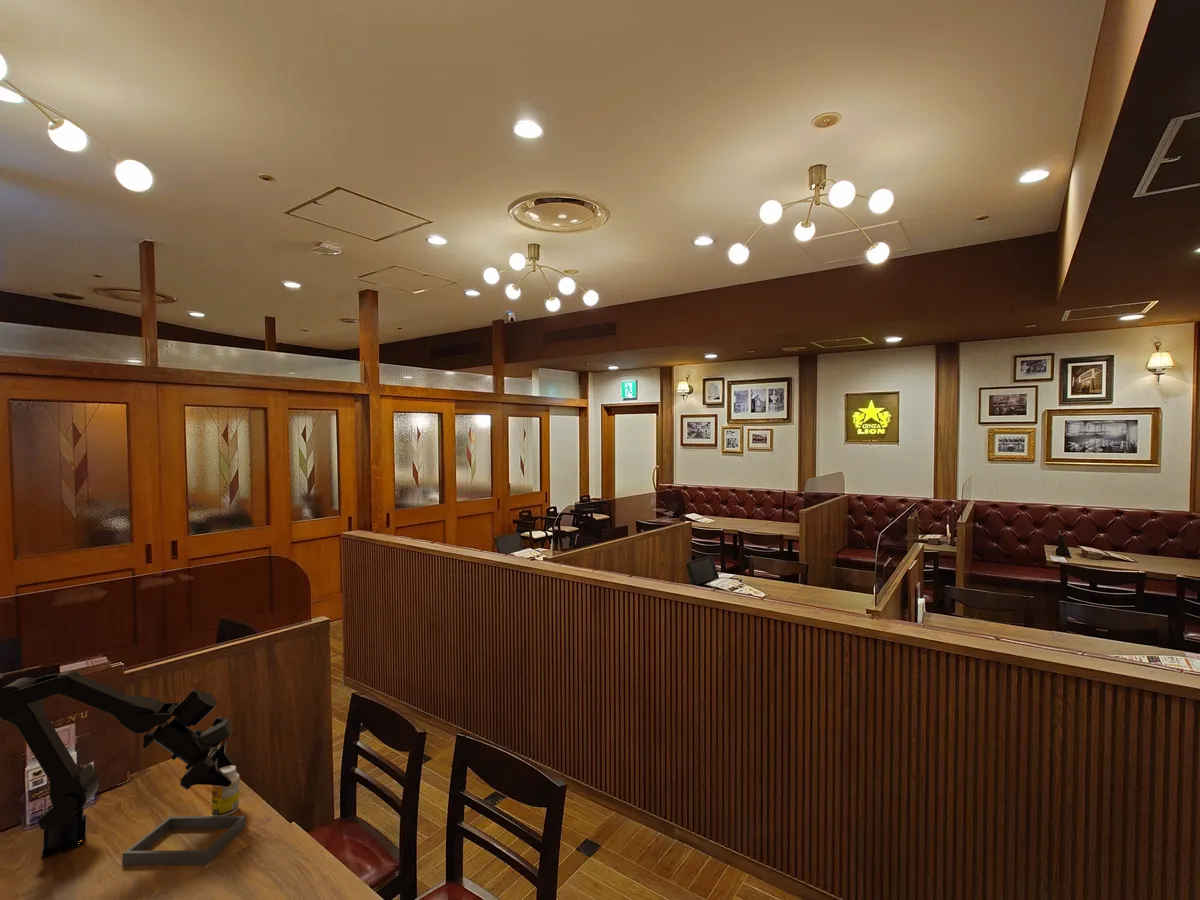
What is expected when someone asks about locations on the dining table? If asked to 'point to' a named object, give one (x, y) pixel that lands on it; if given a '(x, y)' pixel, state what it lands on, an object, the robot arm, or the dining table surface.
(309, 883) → the dining table surface
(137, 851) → the gray open frame
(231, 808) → the supplement bottle
